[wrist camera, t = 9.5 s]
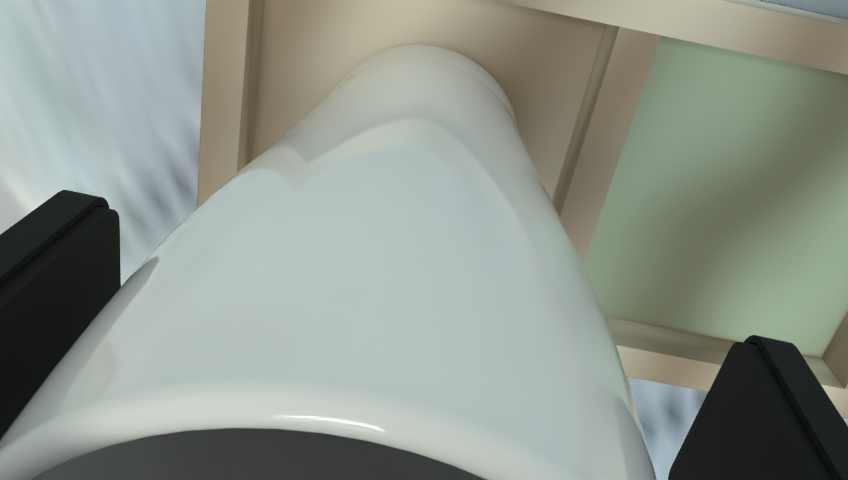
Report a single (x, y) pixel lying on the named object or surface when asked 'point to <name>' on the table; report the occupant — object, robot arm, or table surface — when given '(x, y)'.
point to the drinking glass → (353, 314)
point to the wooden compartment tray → (614, 149)
